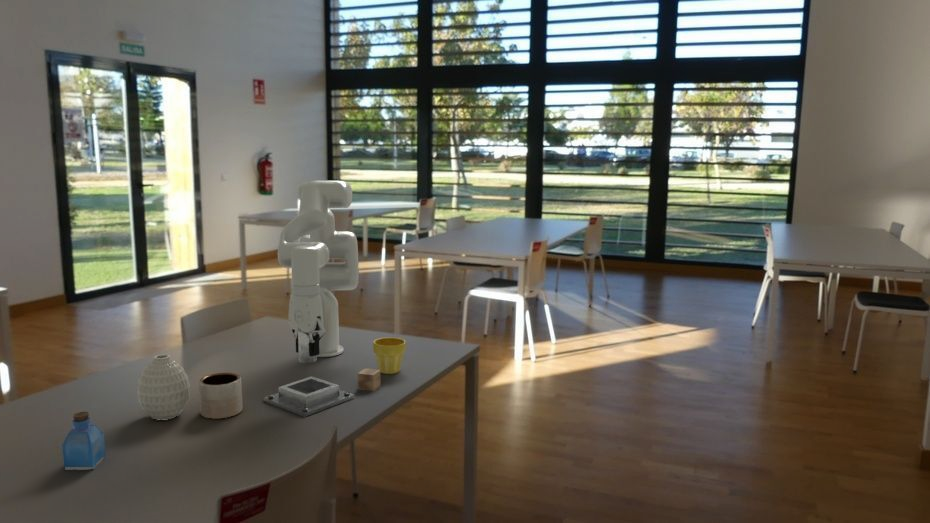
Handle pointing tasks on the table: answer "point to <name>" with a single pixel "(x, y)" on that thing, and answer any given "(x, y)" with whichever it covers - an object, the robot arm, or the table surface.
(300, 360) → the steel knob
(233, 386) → the planter
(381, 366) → the plant pot
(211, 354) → the table surface
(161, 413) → the vase
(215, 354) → the table surface
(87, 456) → the perfume bottle
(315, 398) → the square metal socket
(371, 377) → the wooden cube
